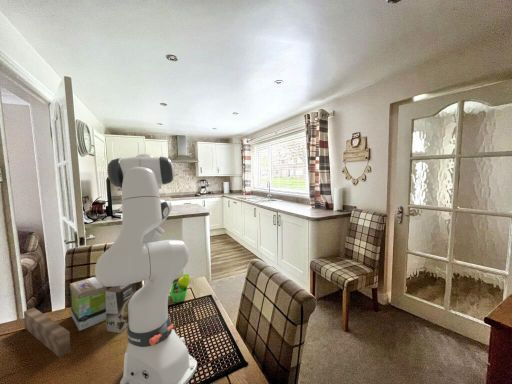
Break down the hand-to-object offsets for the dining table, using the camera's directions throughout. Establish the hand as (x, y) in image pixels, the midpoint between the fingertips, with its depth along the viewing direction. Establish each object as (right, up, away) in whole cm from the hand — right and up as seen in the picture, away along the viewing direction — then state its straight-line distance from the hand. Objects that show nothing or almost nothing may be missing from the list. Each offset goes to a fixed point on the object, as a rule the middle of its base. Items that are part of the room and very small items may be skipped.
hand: (133, 250), depth 109 cm
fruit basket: (+24, -24, 0) cm, 34 cm away
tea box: (-10, -25, -16) cm, 31 cm away
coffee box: (+7, -25, -21) cm, 33 cm away
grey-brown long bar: (-16, -25, -29) cm, 42 cm away
